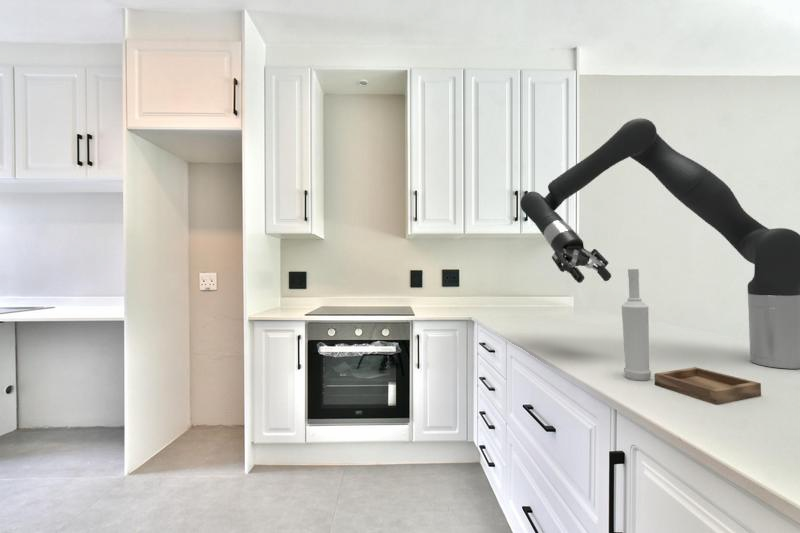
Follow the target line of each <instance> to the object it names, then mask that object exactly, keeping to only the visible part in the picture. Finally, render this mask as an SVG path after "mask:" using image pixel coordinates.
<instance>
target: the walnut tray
mask: <svg viewBox="0 0 800 533" xmlns="http://www.w3.org/2000/svg"><path fill="white" fill-rule="evenodd" d="M654 385H655V386H658V387H661V388H664V389H666V390H669V391H673V392H677V393H679V394H682V395H685V396H689V397H692V398H694V399H699V400H701V401H705V402H707V403H710V404H714V405H720V404H725V403H731V402H736V401H741V400H745V399H751V398H756V397H760V396H762V386H761V385H762V384H761V383H760V382H758V381H757V382H756V381H753V380H750V379H749V380H748V379H745V378H741V377H736V376H732V375H729V374H725V373H721V372H717V371H713V370H709V369H704V368H700V367H697V366H694V367H688V368H681V369H676V370H675V369H674V370H669V371H662V372H656V373H654Z"/></svg>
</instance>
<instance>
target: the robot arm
mask: <svg viewBox="0 0 800 533" xmlns="http://www.w3.org/2000/svg"><path fill="white" fill-rule="evenodd" d="M657 132H658V131H657V127H656V125H655V124H654V123H653V121H651V120H650V119H648V118H641V117H640V118H634V119H631V120H629V121H627V122H625V123H624V124H623V125H622V126H621V127H620V128H619V129H618V130H617V131H616V132H615V133H614V134H613V135H612V136H611V137H609V139H608V140H607V141H605V142H604V143H603V144H601V146H599V148H597V149H596V150H595V151H593V152H592V153H591V154H589V155H588V156H586V157H585V158H584V159H582V160H581V161H579V162H578V163H576V164H575V165H573V166H572V167H570V168H569V169H567V170H566V171H564V172H563V173H562V174H560V175H559V176H557V177H556V178H555V179H552V181H551V182H549V183H548V185H547V190H548V193H547V194H546V195H545V197H544V196H543V195H542V194H541V193H539V192H537V191H529V192H526V193H525V194H524V195H522V197H521V199H520V208H521V211H522V212H523V213H524V214H525V215H526V216H527V217H528V218H529V219H530V220H531V221H532V223H534V224H535V226H536V227H537V229H538V230H539V231H540V233H541V234H542V236H544V238H545V241H546V242H547V244H548V245H549V246H550V247H551V248H552V251H554V253H553V254H552V255H551V260H553V262H554V264H555V265H556V267H557V269H558V270H559V271H560V272H562V273H564V272H567V273H568V274H570V275H571V277H572V278H573V279H574V281H576V282H577V283H578V284H580V283H583V281H584V280H585V275H584V274H583V273H582V272H581V271H580V269H579V268H578V267H580V266H581V267H585V268H587V269H592V270H594V271H596V273H597V274H598V275H599V276H600V278H602V280H603V281H604V282H608V281H609V280H610V279H611V278H612V274H611V273H610V272H609V270H608V269H607V268H606V267H607V266H608V264H609V261H608V260H607V259H606V258H605V257H604V256H603V255H602V253H600V251H598V250H597V249H596V248H593V249H592V250H591V251H590V250H587V249H586V248H585V245H584V241H583V240H582V238H581V237H580V236H579V235H578V233H577V232H576V231H575V230H574V229H573V228H572V226H570V225H569V224H568V223H567V222H565V220H564V219H563V218H562V216H560V214H559V213H557V212H556V210H557V209H558V208H559V207H560V206H561V205H562V204H563V202H564V201H565V200H567V199H569V198H570V197H571V196H573V195H574V194H576V193H577V192H579V191H580V190H582V189H584V188H585V187H586V186H588V184H591V182H593V181H594V180H595V179H596V178H598V177H599V176H600V175H601V174H603V173H604V172H605V171H607V170H608V169H610V168H612V167H613V166H615V165H617V164H618V163H620V162H622V161H625V160H626V159H628V158H631V159H632V160H634V161H635V162H637V163H638V164H640V165H641V166H642V167H644V168H645V169H647V170H648V171H649V172H650V173H652V174H653V175H654V177H655V178H656V179H657V180H658V181H659V183H661V184H662V185H663V187H664V188H665V189H666V190H667V191H668V192H669V193H670V194H671V195H673V196H674V197H675V198H676V199H677V200H678V201H679V202H680V203H682V205H684V206H685V207H686V208H687V209H689V210H690V211H692V212H693V213H694V214H695V215H696V216H698V217H699V218H700V219H701V220H703V221H704V222H705V223H707V224H708V225H709V226H710V227H712V228H714V229H715V230H716V231H717V232H719V234H721V235H722V237H723V238H725V239H726V240H727V241H728V243H729V244H730V245H731V247H733V248H734V249H735V250H736V251H737V252H738V254H740V255H741V257H742V258H744V259H745V260H746V262H749V263H751V264H753V265H754V270H753V271H754V273H753V277H752V279H751V280H750V281H749V282H748V284H747V305H748V328H749V331H748V335H749V360H750V362H751V363H753V364H757V365H760V366H765V367H771V368H779V369H791V370H793V369H795V370H797V369H800V233H798V232H797V231H795V230H793V229H789V228H785V227H784V228H783V227H777V228H768V227H767V226H765V225H763V224H762V223H760V222H759V221H758V220H757V219H754V218H753V217H752V216H751V215H750V214H748V213H747V212H746V211H745V209H744V208H743V207H742V205H741V204H740V202H739V200H738V199H737V197H736V195H735V194H734V192H733V191H732V190H731V187H730V186H728V185H727V184H726V183H725V182H724V180H722V179H721V178H719V177H718V176H717V175H716V174H714V172H713V171H711V170H710V169H708V168H706V166H703V165H702V164H700V163H698V162H697V161H695V160H693V159H691V158H689V157H687V156H686V155H684V154H682V153H680V152H678V151H677V150H675V149H674V148H673V147H672V146H670V145H669V144H668V142H666V141H665V140H664V139H663V138H662V137H661V136H660V134H658V133H657ZM590 260H591V262H590ZM589 262H590V263H589Z"/></svg>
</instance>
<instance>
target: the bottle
mask: <svg viewBox="0 0 800 533" xmlns="http://www.w3.org/2000/svg"><path fill="white" fill-rule="evenodd" d="M639 271H640V270H639V268H636V269H635V268H632V269H631V268H630V269H627V276H628V293H629V294H628V296H629V297H628V298H627V301H625V302H624V303H623V304H621V316H622V317H621V318H622V319H621V320H622V334H623V348H624V349H623V350H624V364H625V365H624V366H625V367H623V368H624V369H623V372H624V376H625V378H627V379H629V380H632V381H639V382H640V381H641V382H644V381H645V382H646V381H650V380H651V376H652V371H651V370H650V341H649V340H650V335H649V333H650V330H649V329H650V328H649V327H650V326H649V323H650V322H649V318H650V317H649V306H648V304H646V303H645V302H643V301H642V298H640V281H639V280H640V279H639V278H640V272H639Z"/></svg>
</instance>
